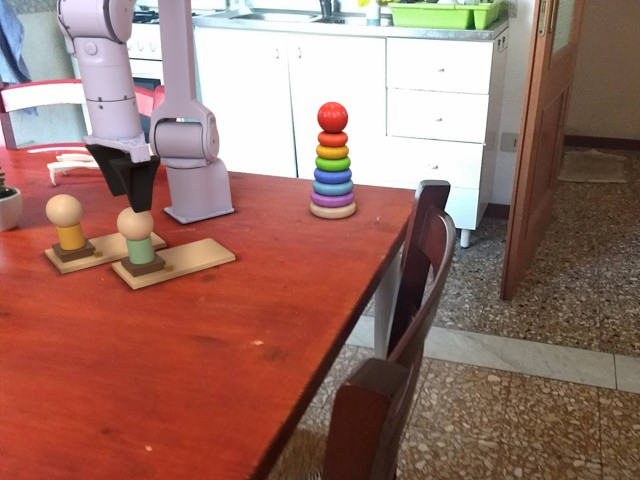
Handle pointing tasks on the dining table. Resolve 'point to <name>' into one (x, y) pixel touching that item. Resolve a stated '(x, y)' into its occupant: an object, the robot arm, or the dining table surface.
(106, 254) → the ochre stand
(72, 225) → the ochre toy
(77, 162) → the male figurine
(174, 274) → the thin cream rectangular board
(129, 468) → the dining table surface
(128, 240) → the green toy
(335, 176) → the stacking toy
